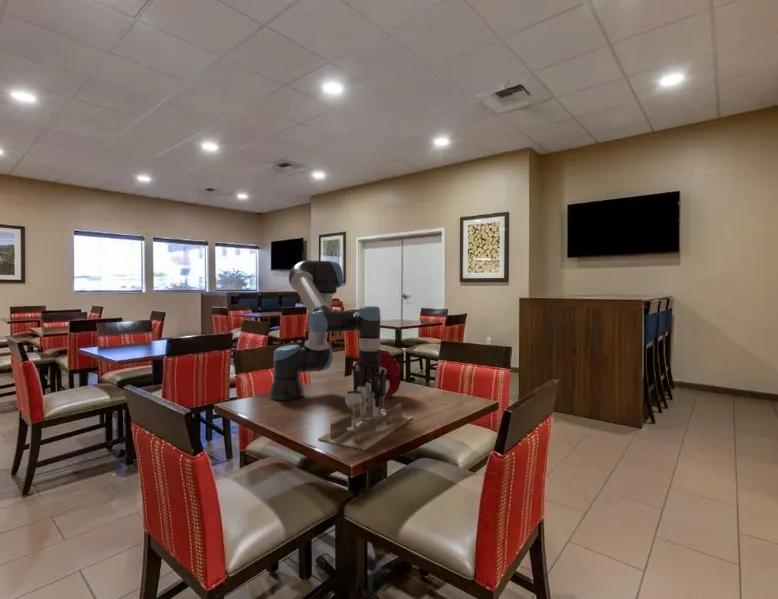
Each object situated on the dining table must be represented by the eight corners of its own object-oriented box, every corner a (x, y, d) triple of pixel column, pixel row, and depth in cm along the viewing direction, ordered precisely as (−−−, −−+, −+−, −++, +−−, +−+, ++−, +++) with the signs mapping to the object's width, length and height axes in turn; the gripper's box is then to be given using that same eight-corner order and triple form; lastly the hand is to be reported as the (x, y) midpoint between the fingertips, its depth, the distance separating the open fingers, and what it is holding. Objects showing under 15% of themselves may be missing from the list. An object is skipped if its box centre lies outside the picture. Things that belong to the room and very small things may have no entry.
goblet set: (379, 408, 159) (379, 374, 159) (392, 409, 157) (392, 375, 157) (341, 429, 134) (342, 389, 134) (357, 432, 131) (357, 391, 131)
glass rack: (317, 440, 133) (317, 423, 133) (372, 411, 165) (372, 398, 165) (364, 450, 125) (365, 432, 125) (412, 418, 157) (412, 404, 157)
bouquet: (352, 405, 199) (350, 387, 172) (357, 359, 210) (355, 336, 184) (396, 408, 199) (400, 391, 173) (398, 362, 210) (403, 340, 184)
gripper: (343, 349, 145) (343, 414, 146) (386, 352, 137) (385, 421, 138) (354, 346, 152) (354, 408, 152) (396, 350, 144) (395, 415, 144)
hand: (369, 414), depth 145 cm, fingers closed on goblet set, 4 cm apart
